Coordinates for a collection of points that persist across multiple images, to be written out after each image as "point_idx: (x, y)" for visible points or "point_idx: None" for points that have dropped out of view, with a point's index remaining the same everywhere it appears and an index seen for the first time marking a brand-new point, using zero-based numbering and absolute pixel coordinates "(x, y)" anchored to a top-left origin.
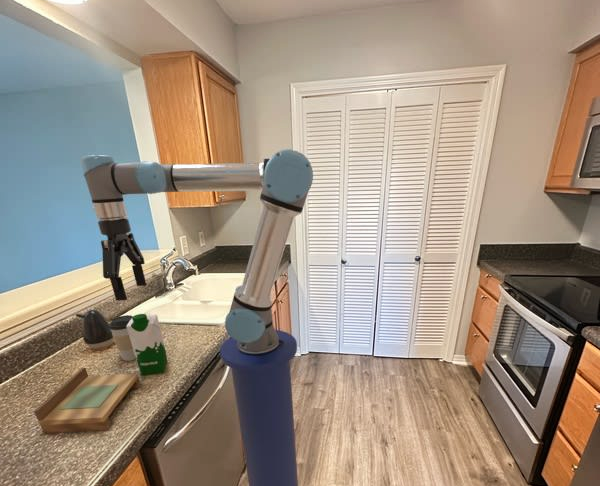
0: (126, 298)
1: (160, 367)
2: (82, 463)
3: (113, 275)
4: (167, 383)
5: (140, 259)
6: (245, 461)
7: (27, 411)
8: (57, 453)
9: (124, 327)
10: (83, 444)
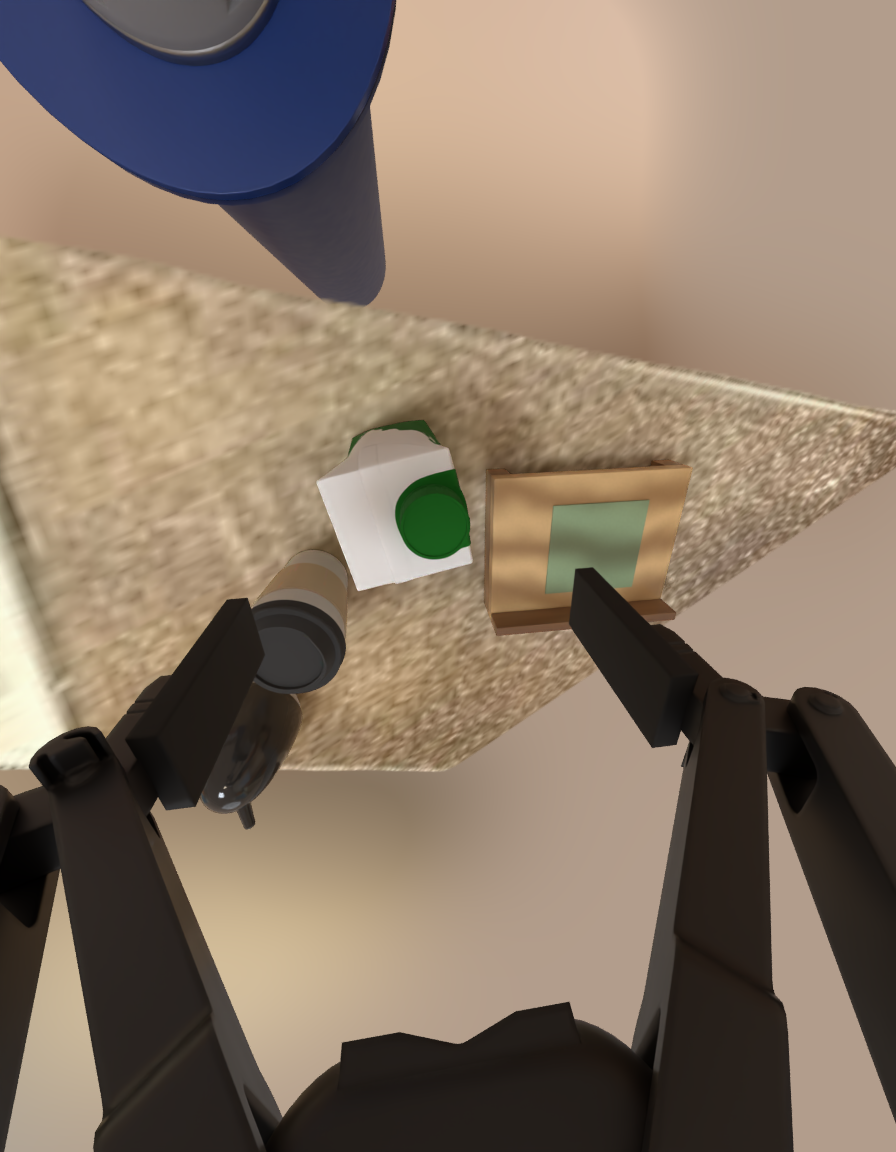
0: (584, 571)
1: (429, 428)
2: (759, 453)
3: (835, 700)
4: (489, 378)
5: (52, 814)
6: (343, 279)
7: (559, 666)
8: (711, 523)
9: (330, 624)
10: (701, 486)
